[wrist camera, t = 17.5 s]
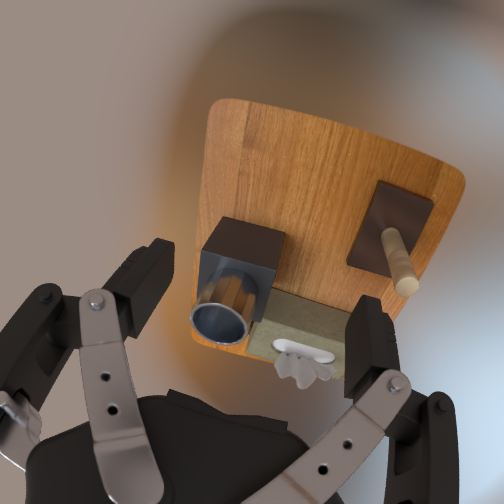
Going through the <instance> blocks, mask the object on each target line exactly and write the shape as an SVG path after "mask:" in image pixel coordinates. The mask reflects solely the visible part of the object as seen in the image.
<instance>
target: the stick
mask: <svg viewBox="0 0 504 504" xmlns="http://www.w3.org/2000/svg"><path fill="white" fill-rule="evenodd" d="M381 241H382V244H383V248H384V251H385V254H386V258H387V261H388V265H389V268H390V272H391V276H392V280H393V283H394V287H395V291H396V293H397V294H398V295H399V296H401V297H409V296H411V295H413V294H415V293H416V292H417V290H418V288H419V282H418V279H417V276H416V273H415V271H414V268H413V265H412V263H411V260H410V258H409V255H408V253H407V250H406V248H405V245H404V243H403V240H402V238H401V235H400V233H399V231H398V230H397V229H395V228H392V227H390V228H387V229H385V230H384V231H383V232H382V234H381Z"/></svg>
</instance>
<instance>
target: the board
mask: <svg viewBox="0 0 504 504" xmlns="http://www.w3.org/2000/svg"><path fill="white" fill-rule="evenodd" d="M433 206H434V203H433V202H432V201H431V200H429V199H427V198H425V197H422V196H420V195H417V194H415V193H412V192H410V191H407V190H405V189H402V188H399V187H397V186H394V185H391V184H389V183H386V182H383V181H380V180H379V181H378V183H377V186H376V189H375V191H374V194H373V196H372V199H371V202H370V204H369V207H368V209H367V212H366V214H365V217H364V219H363V222H362V224H361V226H360V229H359V231H358V234H357V236H356V238H355V241H354V243H353V245H352V248H351V250H350V252H349V254H348V257H347V259H346V262H347V265H349V266H352V267H356V268H359V269H363V270H366V271H369V272H373V273H376V274H379V275H383V276H386V277H390V278H392V276H391V272H390V268H389V265H388V261H387V258H386V254H385V251H384V248H383V244H382V241H381V234H382V232H383V231H384V230H385V229H387V228H390V227H392V228H395V229H397V230H398V231H399V233H400V235H401V238H402V240H403V243H404V245H405V248H406V250H407V253H408V255H410V253H411V251H412V249H413V248H414V246H415V244H416V242H417V240H418V238H419V236H420V234H421V232H422V230H423V228H424V225H425V223H426V221H427V219H428V217H429V215H430V213H431V211H432V208H433Z"/></svg>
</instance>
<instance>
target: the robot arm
mask: <svg viewBox="0 0 504 504" xmlns="http://www.w3.org/2000/svg"><path fill="white" fill-rule="evenodd" d="M174 252H175V245H174V242H170V241H167V240H163V239H160V238H156V239H155V240H154V241H153V242H152V243H151V245H150V246H149V247H145V246H142V247H140V248H139V249H136V250H135V251H133V252H132V253H131V254H130V255H129V257H128V258H127V259H126V261H124V262H123V263H122V265H121V267H119V268H118V269H117V270H116V271H115V273H114V274H113V275H112V276H111V277H110V279H109V280H108V281H107V282H106V283H105V285H104V286H103V287H102V288H101V289H93V290H90V291H88V292H86V293H85V294H84V295H83V296H82V297H75V296H66V295H63V294H62V291H61V288H60V287H59V286H58V285H56V284H53V283H46V284H42V285H40V286H38V287H37V288H36V289H35V290H34V291H33V292H32V293H31V294H30V295H29V297H28V298H27V299H26V300H25V301H24V303H23V304H22V305H21V306H20V308H19V309H18V310H17V311H16V313H15V314H14V315H13V316H12V318H11V319H10V320H9V322H8V323H7V324H6V326H5V327H4V328H3V330H2V331H1V332H0V455H2V456H4V457H5V458H7V459H8V460H10V461H11V462H12V463H14V464H15V465H16V466H18V467H19V468H21V469H22V470H24V471H25V475H26V500H25V504H344V502H343V501H342V499H341V498H340V496H339V494H338V493H337V490H338V489H339V488H340V487H341V486H342V485H343V484H344V483H345V482H346V481H347V480H348V478H350V476H351V475H352V474H353V473H354V472H355V471H356V470H357V469H358V468H359V466H360V465H361V464H362V463H363V462H364V461H365V459H366V458H367V457H368V456H369V455H370V453H371V452H372V451H373V450H374V449H375V447H376V446H377V445H378V444H379V442H380V441H381V440H382V439H383V437H384V436H387V437H389V454H388V467H387V478H386V488H385V498H384V504H459V452H458V437H457V425H456V415H455V408H454V404H453V402H452V400H451V398H450V397H449V396H448V395H446V394H445V393H443V392H439V391H438V392H434V393H432V394H431V395H430V396H429V397H427V396H425V395H423V394H421V393H419V392H416V391H415V390H413V389H411V384H410V381H409V379H408V378H407V377H406V376H405V375H404V374H403V373H402V372H401V371H400V364H399V356H398V349H397V343H396V336H395V330H394V324H393V322H392V320H391V318H390V317H389V315H388V313H384V312H382V306H381V300H380V299H378V298H374V297H371V296H367V295H362V296H361V298H360V299H359V301H358V303H357V305H356V307H355V308H354V310H353V312H352V314H351V315H350V317H349V319H348V321H347V324H346V328H345V381H344V383H345V385H344V398H349V399H353V405H352V406H351V407H350V408H349V410H347V412H345V414H344V415H343V416H342V417H341V418H340V419H339V420H338V421H337V422H336V423H335V424H334V425H333V426H332V427H330V428H329V429H328V430H327V431H326V432H325V433H324V434H323V435H322V436H321V437H320V438H319V439H318V440H317V441H316V442H314V443H313V444H312V445H311V446H310V447H309V446H308V445H307V444H306V443H305V442H304V441H303V440H302V439H301V438H299V437H298V436H297V435H296V434H294V433H292V432H291V431H288V430H287V425H288V422H285V421H281V420H276V419H271V418H267V417H262V416H254V415H253V416H252V415H228V414H224V413H222V412H221V411H219V410H217V409H215V408H213V407H212V406H210V405H208V404H207V403H204V402H203V401H201V400H200V399H198V398H195V397H192V396H189V395H186V394H183V393H180V392H177V391H174V390H171V389H169V391H168V393H167V396H164V395H153V396H145V397H141V398H137V395H136V392H135V388H134V384H133V380H132V376H131V372H130V368H129V364H128V360H127V356H126V351H125V346H124V341H125V340H126V338H127V336H130V337H132V338H135V339H137V337H138V336H139V334H140V332H141V331H142V329H143V327H144V325H145V324H146V322H147V321H148V319H149V317H150V316H151V314H152V312H153V311H154V309H155V308H156V306H157V304H158V303H159V301H160V300H161V298H162V296H163V295H164V293H165V292H166V290H167V288H168V287H169V285H170V283H171V281H172V278H173V274H174ZM74 349H79V355H80V365H81V373H82V380H83V387H84V394H85V400H86V406H87V411H88V416H89V421H88V422H85V423H83V424H81V425H79V426H76V427H74V428H72V429H69V430H67V431H65V432H62V433H60V434H57V435H55V436H53V437H50V438H47V439H45V440H43V441H41V442H40V440H39V435H40V433H41V427H42V420H41V416H40V414H39V413H38V412H39V410H40V408H41V407H42V405H43V403H44V401H45V399H46V397H47V395H48V394H49V392H50V390H51V388H52V386H53V384H54V383H55V381H56V379H57V377H58V376H59V374H60V372H61V370H62V368H63V367H64V365H65V364H66V362H67V360H68V358H69V357H70V355H71V353H72V352H73V350H74Z"/></svg>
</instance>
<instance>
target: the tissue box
mask: <svg viewBox="0 0 504 504" xmlns="http://www.w3.org/2000/svg"><path fill="white" fill-rule="evenodd" d="M350 315H351V314H350V313H347V312H344V311H341V310H338V309H335V308H332V307H329V306H325V305H322V304H319V303H316V302H313V301H310V300H307V299H304V298H301V297H298V296H295V295H292V294H289V293H286V292H283V291H280V290H277V289H274V288H271V292H270V295H269V298H268V302H267V305H266V308H265V312H264V315H263V318H262V322H261V323H259V322H254V324H253V327H252V329H251V332H250V335H249V340H248V344H247V349H246V353H248V354H251V355H254V356H257V357H260V358H263V359H267V360H270V361H273V362H275V363H274V367H275V368H276V369H277V372H278V376H279V377H280V378H281V379H283V378H286V377H288V376H292V377H293V378H295V379H296V382H297V387H298V388H300V389H307V388H308V387H309V386H310V385H311V384H312V383H313V381H314V380H315V379H316V377H319V378H320V379H322V380H323V381H327V380H329V379H330V378H334V379H340V378H341V377H342V376H343V375H344V373H345V328H346V324H347V321H348V319H349V317H350Z"/></svg>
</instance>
